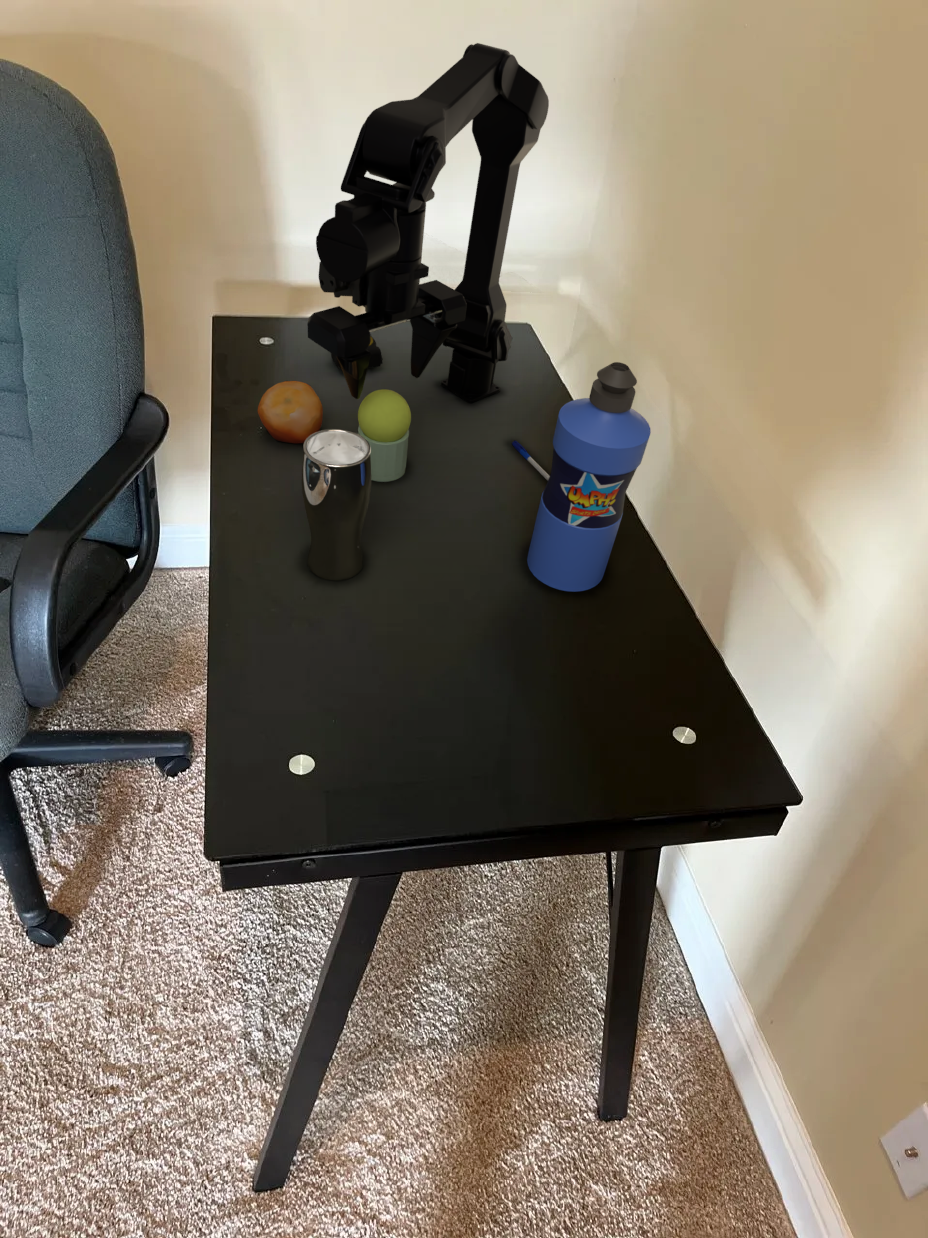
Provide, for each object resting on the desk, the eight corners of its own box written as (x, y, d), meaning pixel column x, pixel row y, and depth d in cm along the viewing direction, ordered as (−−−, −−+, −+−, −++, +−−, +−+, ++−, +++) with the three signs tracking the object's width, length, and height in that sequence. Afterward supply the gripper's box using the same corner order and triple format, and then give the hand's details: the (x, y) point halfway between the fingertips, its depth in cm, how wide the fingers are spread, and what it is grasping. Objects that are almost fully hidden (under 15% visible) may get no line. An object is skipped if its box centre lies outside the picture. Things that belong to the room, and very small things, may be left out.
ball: (386, 420, 105) (388, 374, 101) (419, 443, 102) (424, 397, 98) (346, 435, 102) (347, 388, 97) (380, 459, 99) (382, 412, 94)
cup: (384, 448, 108) (386, 411, 104) (415, 471, 105) (419, 433, 102) (346, 463, 105) (347, 426, 101) (378, 487, 102) (380, 449, 98)
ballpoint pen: (509, 445, 113) (510, 439, 112) (514, 444, 113) (515, 438, 112) (553, 488, 107) (555, 482, 106) (559, 486, 107) (560, 480, 106)
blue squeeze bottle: (525, 534, 99) (569, 337, 81) (602, 544, 99) (662, 350, 82) (525, 586, 92) (573, 384, 75) (607, 597, 93) (674, 398, 75)
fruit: (333, 408, 111) (326, 376, 103) (321, 461, 109) (312, 433, 101) (274, 398, 111) (262, 365, 103) (260, 451, 109) (247, 421, 101)
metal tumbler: (315, 589, 88) (315, 472, 77) (294, 549, 92) (291, 433, 81) (376, 575, 90) (384, 460, 80) (353, 537, 95) (357, 422, 84)
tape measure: (336, 376, 120) (336, 352, 117) (326, 353, 124) (326, 329, 122) (382, 373, 122) (383, 350, 119) (370, 351, 126) (371, 328, 124)
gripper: (410, 211, 95) (400, 339, 106) (274, 239, 85) (279, 377, 95) (477, 246, 90) (460, 377, 101) (342, 280, 80) (339, 421, 90)
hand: (386, 386), depth 97 cm, fingers open, 9 cm apart
